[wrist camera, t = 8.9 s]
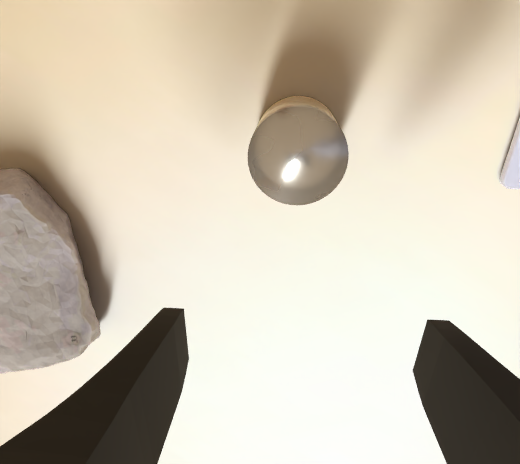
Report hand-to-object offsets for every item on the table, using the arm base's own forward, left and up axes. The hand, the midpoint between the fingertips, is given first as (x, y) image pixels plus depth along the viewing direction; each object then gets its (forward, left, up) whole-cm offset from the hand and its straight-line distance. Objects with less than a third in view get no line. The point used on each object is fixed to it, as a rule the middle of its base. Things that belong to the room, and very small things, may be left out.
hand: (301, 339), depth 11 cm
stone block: (+16, +4, -10) cm, 19 cm away
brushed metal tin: (0, -4, -9) cm, 10 cm away
